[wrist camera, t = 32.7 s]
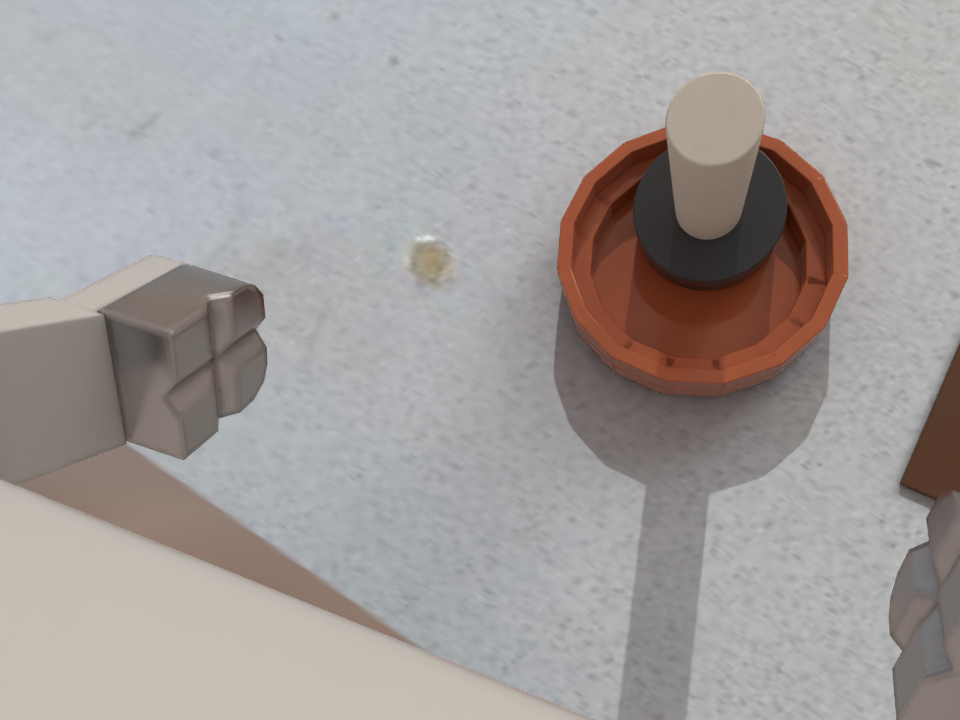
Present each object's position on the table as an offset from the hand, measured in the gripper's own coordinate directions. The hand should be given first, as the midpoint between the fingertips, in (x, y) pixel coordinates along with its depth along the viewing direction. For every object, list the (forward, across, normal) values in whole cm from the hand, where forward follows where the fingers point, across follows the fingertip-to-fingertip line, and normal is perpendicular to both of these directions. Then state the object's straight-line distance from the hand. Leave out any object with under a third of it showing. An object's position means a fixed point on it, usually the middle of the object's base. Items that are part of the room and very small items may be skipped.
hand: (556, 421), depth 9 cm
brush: (+27, 0, +7) cm, 28 cm away
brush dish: (+27, 0, +9) cm, 28 cm away
